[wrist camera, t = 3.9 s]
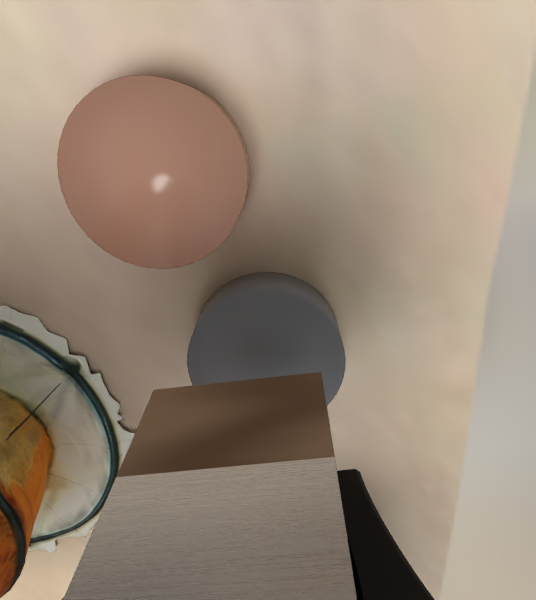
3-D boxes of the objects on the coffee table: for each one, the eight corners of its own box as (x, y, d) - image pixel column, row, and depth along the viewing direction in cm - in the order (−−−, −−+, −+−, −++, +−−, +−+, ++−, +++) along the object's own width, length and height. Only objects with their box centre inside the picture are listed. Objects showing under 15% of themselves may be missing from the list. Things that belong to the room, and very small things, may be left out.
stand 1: (274, 217, 19) (273, 232, 17) (134, 272, 21) (116, 292, 18) (207, 49, 17) (195, 39, 15) (53, 122, 18) (20, 123, 16)
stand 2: (356, 373, 22) (365, 403, 20) (231, 413, 24) (225, 445, 21) (310, 250, 20) (314, 268, 18) (172, 301, 21) (159, 325, 19)
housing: (321, 371, 11) (360, 619, 6) (340, 541, 14) (379, 821, 9) (153, 390, 12) (45, 640, 6) (203, 552, 14) (157, 827, 9)
